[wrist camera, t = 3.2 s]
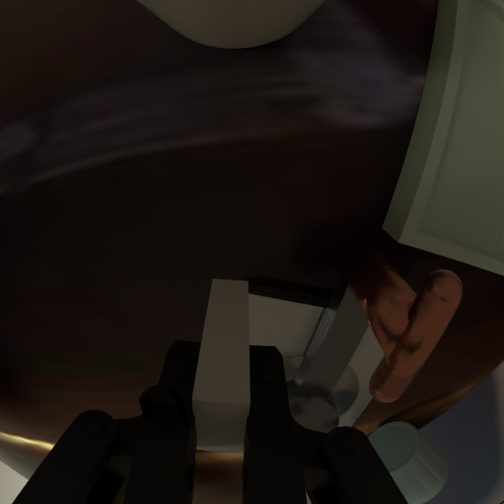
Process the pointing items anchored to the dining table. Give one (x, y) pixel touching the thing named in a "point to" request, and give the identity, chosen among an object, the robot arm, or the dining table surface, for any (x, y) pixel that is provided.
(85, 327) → the dining table surface
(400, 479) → the cup
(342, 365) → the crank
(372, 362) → the crank plate
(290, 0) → the candle holder
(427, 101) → the tray
